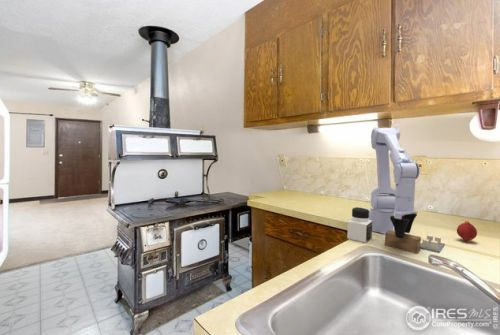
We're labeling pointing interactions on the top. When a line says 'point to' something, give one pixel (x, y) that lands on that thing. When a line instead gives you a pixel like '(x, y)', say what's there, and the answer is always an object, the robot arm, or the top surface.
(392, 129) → the robot arm
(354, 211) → the medicine bottle
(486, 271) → the top surface
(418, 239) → the wooden block
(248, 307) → the top surface
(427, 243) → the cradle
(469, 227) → the onion
